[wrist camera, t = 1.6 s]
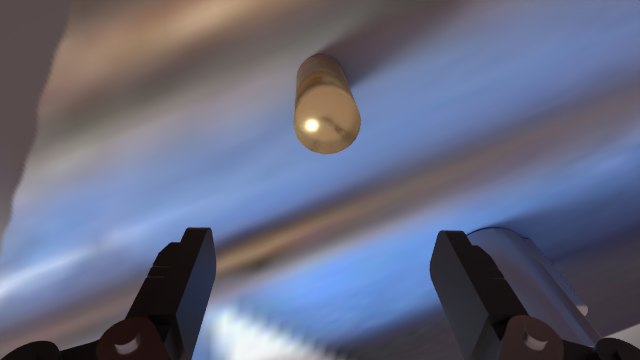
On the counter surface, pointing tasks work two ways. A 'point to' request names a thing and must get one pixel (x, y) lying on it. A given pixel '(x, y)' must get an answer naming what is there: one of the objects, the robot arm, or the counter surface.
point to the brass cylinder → (324, 106)
